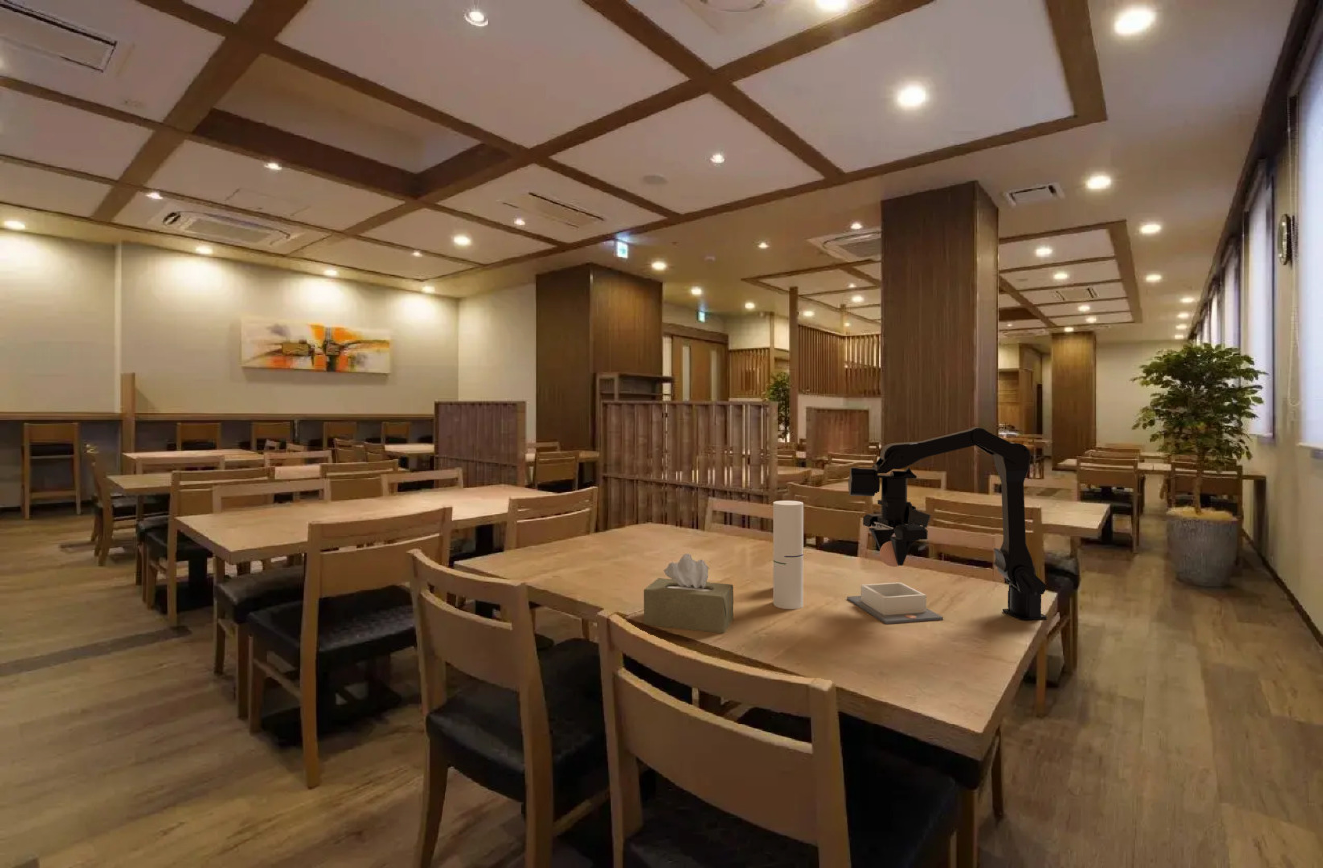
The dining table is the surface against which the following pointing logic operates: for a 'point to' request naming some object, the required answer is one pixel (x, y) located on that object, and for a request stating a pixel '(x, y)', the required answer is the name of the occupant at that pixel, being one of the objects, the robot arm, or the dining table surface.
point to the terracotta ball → (888, 554)
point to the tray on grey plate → (894, 603)
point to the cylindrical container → (788, 554)
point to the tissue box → (688, 599)
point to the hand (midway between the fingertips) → (893, 562)
